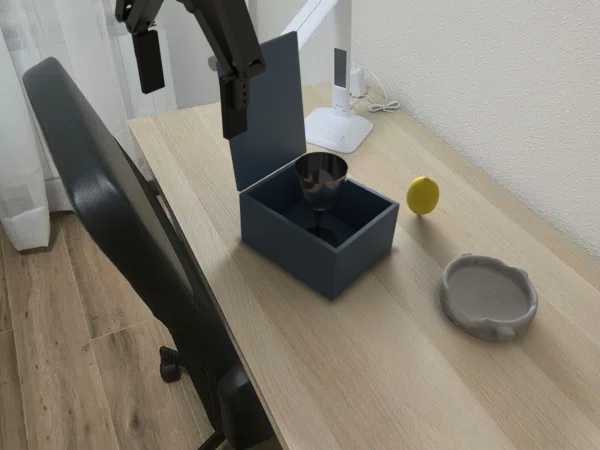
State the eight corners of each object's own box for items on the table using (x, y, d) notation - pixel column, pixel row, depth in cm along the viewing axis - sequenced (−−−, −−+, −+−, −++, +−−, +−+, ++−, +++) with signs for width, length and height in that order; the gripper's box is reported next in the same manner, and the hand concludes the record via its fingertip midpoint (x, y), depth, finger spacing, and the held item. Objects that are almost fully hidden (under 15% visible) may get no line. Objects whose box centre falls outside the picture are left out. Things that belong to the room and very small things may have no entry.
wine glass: (318, 265, 87) (324, 189, 77) (282, 241, 91) (283, 166, 81) (350, 241, 92) (359, 166, 82) (314, 219, 95) (319, 145, 86)
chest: (391, 249, 91) (400, 203, 85) (331, 301, 82) (336, 254, 76) (303, 198, 101) (305, 154, 95) (241, 240, 92) (238, 193, 86)
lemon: (440, 217, 98) (450, 181, 93) (417, 227, 96) (425, 191, 91) (420, 200, 102) (428, 164, 96) (396, 210, 99) (403, 173, 94)
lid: (297, 31, 82) (262, 24, 87) (219, 62, 73) (184, 53, 78) (306, 152, 94) (275, 141, 98) (240, 192, 85) (209, 178, 89)
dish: (514, 362, 75) (524, 339, 72) (420, 316, 81) (426, 293, 77) (543, 297, 84) (553, 274, 81) (457, 260, 90) (464, 237, 87)
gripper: (311, -100, 42) (301, 141, 55) (119, -141, 54) (150, 64, 68) (238, -86, 37) (247, 171, 51) (47, -135, 50) (96, 83, 63)
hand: (192, 110), depth 59 cm, fingers open, 13 cm apart
